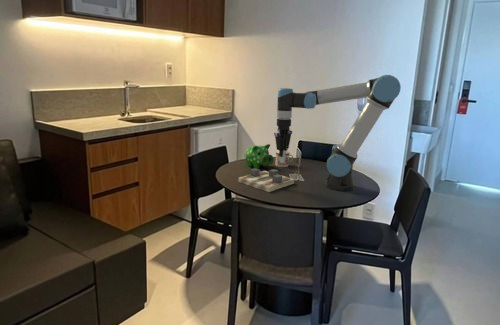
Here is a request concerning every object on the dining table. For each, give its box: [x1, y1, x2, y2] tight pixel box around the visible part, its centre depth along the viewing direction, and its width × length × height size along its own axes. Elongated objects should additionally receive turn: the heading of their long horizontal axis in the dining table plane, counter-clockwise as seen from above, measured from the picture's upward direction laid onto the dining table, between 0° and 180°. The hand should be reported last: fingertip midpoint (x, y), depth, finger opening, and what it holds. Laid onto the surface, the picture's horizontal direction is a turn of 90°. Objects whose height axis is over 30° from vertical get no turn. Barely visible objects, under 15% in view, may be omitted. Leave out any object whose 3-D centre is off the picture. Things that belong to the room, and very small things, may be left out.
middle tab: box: [268, 169, 279, 177], centre depth 208 cm, size 4×4×3 cm
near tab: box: [272, 174, 283, 183], centre depth 198 cm, size 4×4×3 cm
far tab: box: [249, 167, 261, 176], centre depth 208 cm, size 4×4×3 cm
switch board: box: [237, 170, 295, 193], centre depth 205 cm, size 22×22×3 cm
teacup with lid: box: [274, 150, 294, 168], centre depth 240 cm, size 12×9×12 cm
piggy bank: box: [244, 143, 274, 169], centre depth 234 cm, size 14×18×15 cm
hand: (282, 162), depth 198 cm, fingers closed
